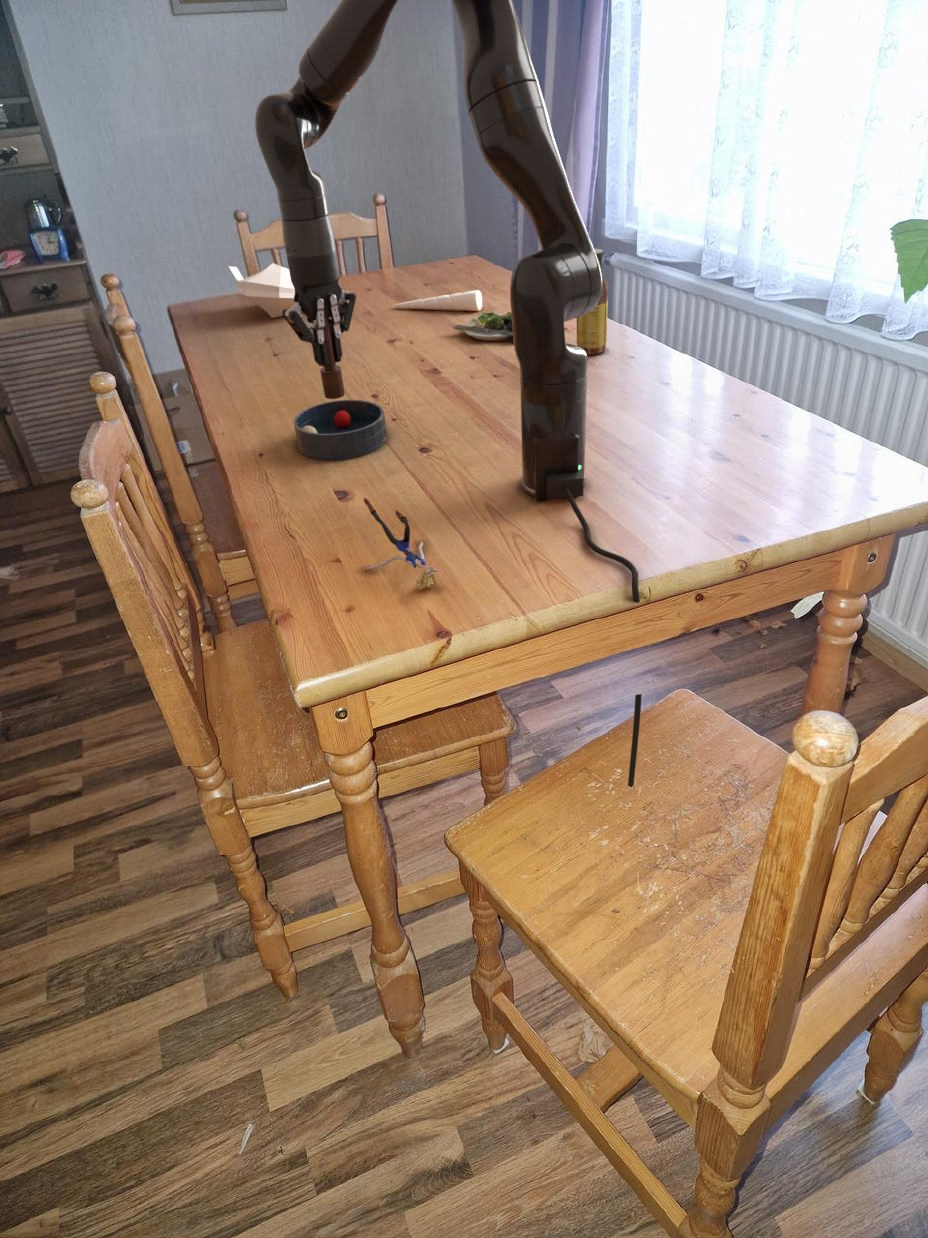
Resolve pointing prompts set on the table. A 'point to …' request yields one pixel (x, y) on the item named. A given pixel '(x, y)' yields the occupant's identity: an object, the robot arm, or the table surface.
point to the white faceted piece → (267, 289)
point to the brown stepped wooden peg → (331, 369)
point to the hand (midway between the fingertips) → (329, 362)
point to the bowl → (341, 430)
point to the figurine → (405, 550)
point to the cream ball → (309, 429)
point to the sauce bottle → (594, 321)
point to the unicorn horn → (447, 302)
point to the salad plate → (489, 327)
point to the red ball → (342, 419)
